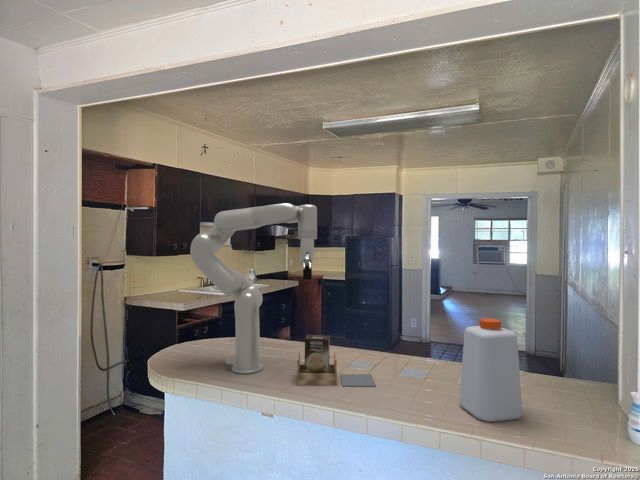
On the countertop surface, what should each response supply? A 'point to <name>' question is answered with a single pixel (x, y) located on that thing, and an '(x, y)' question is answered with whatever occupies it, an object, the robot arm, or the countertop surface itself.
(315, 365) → the coffee box
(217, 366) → the countertop surface
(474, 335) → the plastic bottle
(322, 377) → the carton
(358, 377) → the mat
